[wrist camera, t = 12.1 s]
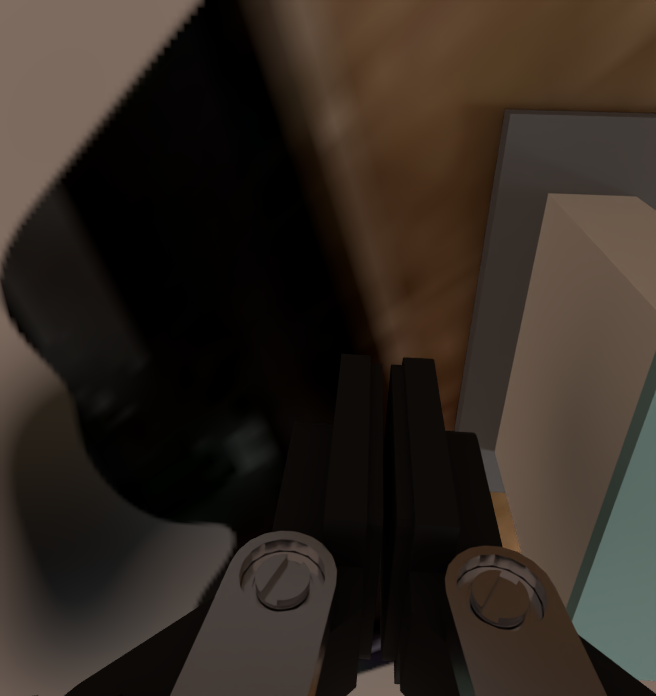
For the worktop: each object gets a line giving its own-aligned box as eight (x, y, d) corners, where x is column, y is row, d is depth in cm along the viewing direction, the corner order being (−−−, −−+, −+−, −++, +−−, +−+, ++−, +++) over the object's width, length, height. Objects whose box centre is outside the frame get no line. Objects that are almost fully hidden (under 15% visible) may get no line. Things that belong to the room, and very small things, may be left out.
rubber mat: (913, 120, 12) (937, 125, 11) (730, 492, 17) (741, 507, 16) (504, 109, 12) (510, 113, 12) (447, 474, 17) (449, 488, 17)
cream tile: (562, 455, 16) (655, 680, 10) (494, 451, 16) (553, 673, 11) (635, 196, 12) (833, 340, 7) (548, 193, 12) (677, 332, 7)
